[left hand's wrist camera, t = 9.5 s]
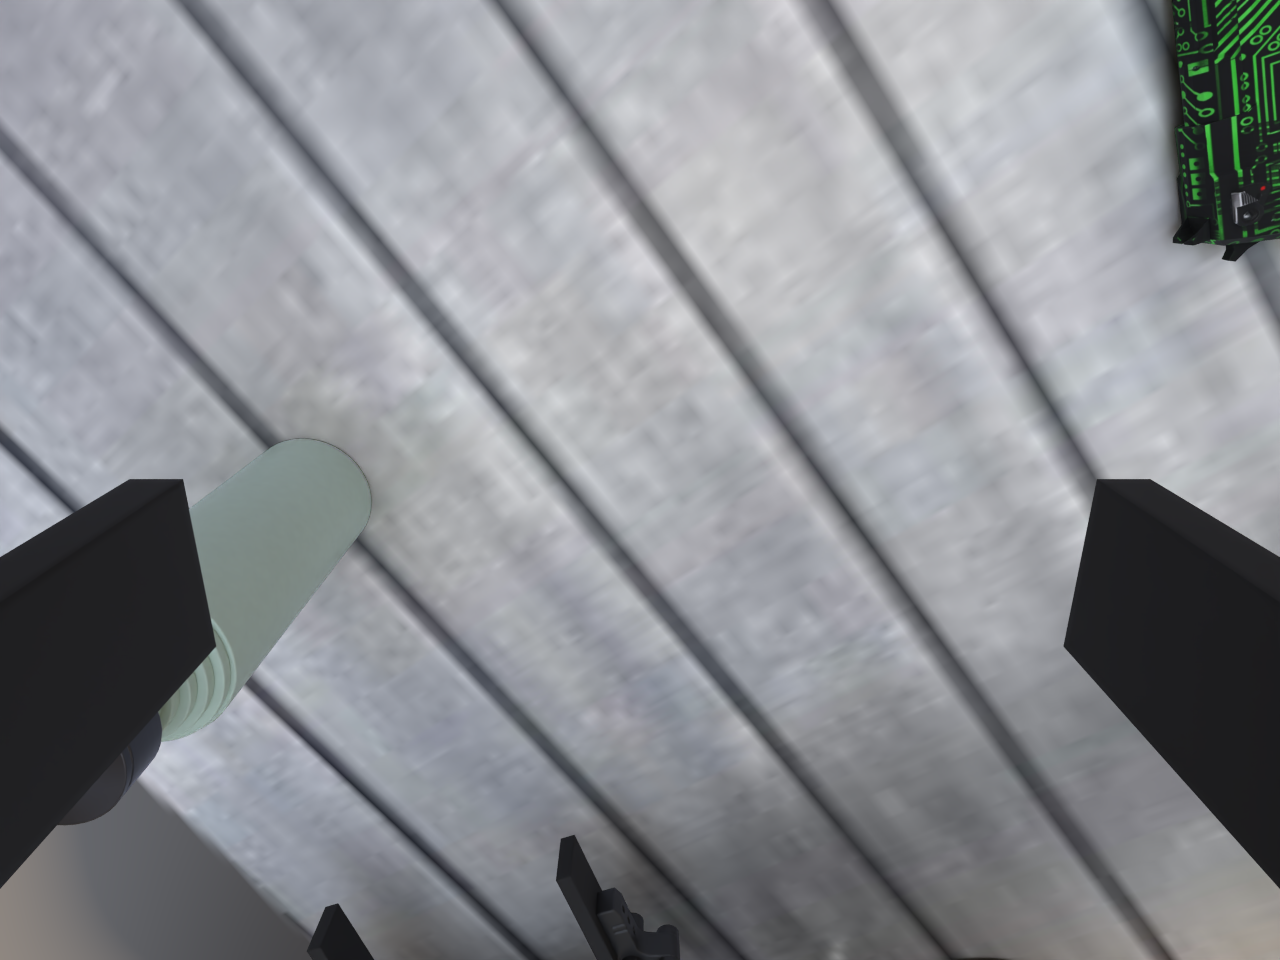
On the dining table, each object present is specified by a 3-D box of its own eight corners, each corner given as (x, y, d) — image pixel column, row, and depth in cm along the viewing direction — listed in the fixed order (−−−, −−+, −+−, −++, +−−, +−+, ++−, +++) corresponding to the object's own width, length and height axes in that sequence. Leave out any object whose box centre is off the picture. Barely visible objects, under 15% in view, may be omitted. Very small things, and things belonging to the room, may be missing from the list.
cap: (86, 801, 26) (44, 848, 24) (-23, 697, 25) (-76, 739, 23) (194, 739, 25) (160, 783, 23) (88, 628, 24) (43, 665, 22)
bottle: (302, 570, 43) (53, 867, 25) (224, 477, 42) (-107, 722, 23) (396, 514, 42) (208, 781, 24) (319, 415, 41) (52, 621, 22)
